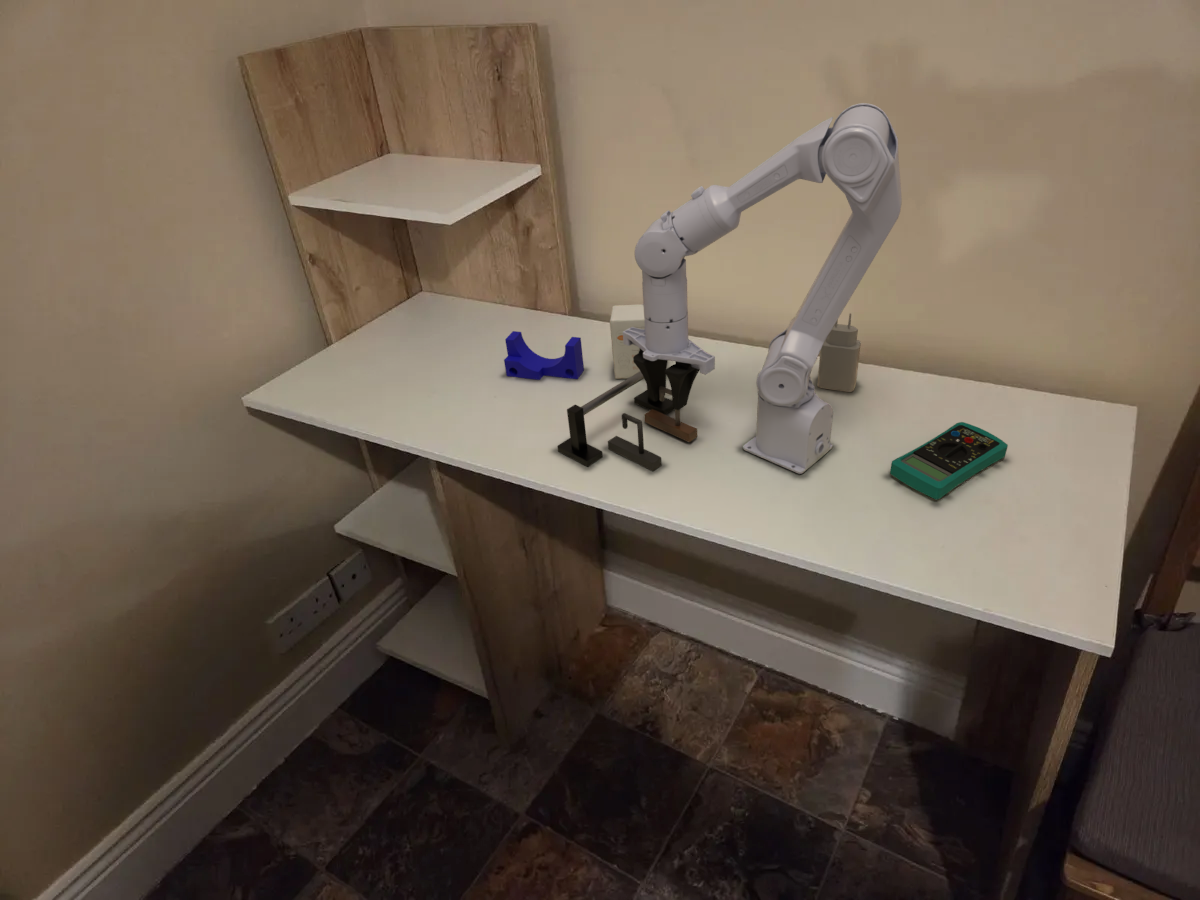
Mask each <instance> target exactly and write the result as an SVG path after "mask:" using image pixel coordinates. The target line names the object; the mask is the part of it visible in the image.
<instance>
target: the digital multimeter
mask: <svg viewBox="0 0 1200 900" xmlns="http://www.w3.org/2000/svg"><path fill="white" fill-rule="evenodd" d="M1008 447H1009V445H1008V443H1006V442H1005V441H1004V440H1003V439H1001V438H999V437H998V436H997V435H994V434H993V433H991V432H989V431H987V430H985V429H983V428H980V427H978V426H975V425H973V424H970V423H967V422H963V421H959V422H956V423H955V424H953V425H952V426H950V427H949V428H947V429H946V430H944V431H943V432H941V433H940V434H938V435H936V436H935V437H933V438H931V439H930V440H928V441H926V442H925V443H923V444H921V445H919V446H918V447H915V448H914V449H912V450H910V451H909V452H907V453H905V454H903V455H901V456H899V457H897V458H894V459H893V460H891V462H890V463H891V464H890V470H889V474H890V475H891V476H893V477H894V478H896V479H897V480H898V481H900V482H902V483H904V484H905V485H906V486H908V487H910V488H912V489H914V490H915V491H918V492H919V493H921V494H923V495H925V496H928V498H932V499H934V500H940V499H942V498H943V497H944V496H946V495H947V494H948V493H949V492H951V491H952V490H954V489H955V488H956V487H958V486H959V485H960V484H962V483H964V482H966V481H967V480H969V479H970V478H972V477H973V476H974V475H976V474H978V473H979V472H981V471H982V470H984V469H986V468H988V467H989V466H991V465H993V464H994V463H996V462H998V461H1000V460H1003V458H1004V459H1005V457H1006V454H1007V450H1008Z"/></svg>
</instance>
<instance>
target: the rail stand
mask: <svg viewBox="0 0 1200 900" xmlns="http://www.w3.org/2000/svg"><path fill="white" fill-rule="evenodd" d="M642 380H645V379H644V377H643V375H642V373H641V371H639V372H638V373H636V374H634V375H633V376H631V377H630V378H627V379H624V380H622V381H621V382H620V383H618V384H615V386H612V387H611V388H609V389H608V390H606V391H605V392H603V393H601V394H599V395H598V396H597V397H595V398H593V399H591V400H590V401H588V402H587V403H585V404H583V405H582V406H579V405H577V404H573V405H572V406H570V407H567V409H566V414H567V422H568V430H569V438H567V439H565V440H564V441H562V442H561V443H559V444H558V445H557V452H558V453H560V454H562V455H564V456H566V457H568V458H570V459H572V460H573V461H576V462H577V463H579V464H581V465H583V466H585V467H587V468H588V467H590V466H592V465H593V464H594V463H597V461H599V460H601V459H602V458H603V456H604V455H603V451H602V450H600V449H598V448H596V447H595V446H593V445H591V444H589V443H588V440H587V431H586V422H585V416H586V415H587V414H589V413H591V412H592V411H593V410H595V409H596V408H598V407H600V406H601V405H603V404H604V403H606V402H608V401H610V400H611V399H613V398H614V397H616V396H617V395H620V394H621V393H623V392H625V391H626V390H628V389H629V388H631V387H633V386H634V385H636V384H637V383H639V382H640V381H642ZM633 403H634V404H635V405H637V406H639V407H641V408H645V409H647V410H648V411H650V410H652V409H653V410H656V411H658V412H660V413H663V414H665V415H668V414H669V413H671V412H672V411H673V410H674V411H675V409H674V407H673V402H672V399H670V398H667V397H665V396H664V401H660V399H658V400H657V401H654V400H652V397H651V394H650V391H649V389H648V386H647V385H646V390H644V391H642V392H641V393H640V394H638V395H636V396H634V398H633Z"/></svg>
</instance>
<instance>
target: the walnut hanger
mask: <svg viewBox="0 0 1200 900" xmlns="http://www.w3.org/2000/svg"><path fill="white" fill-rule="evenodd" d="M664 393H665V394H667V395H669V396H671V397H672V391H671V388H668V387H666V388H665V387H663V386H660V387H659V399H660V401H664V397H665V395H664ZM643 418H644V423H645V424H648V425H650V426H652V427H654V428H656V429H658V430H661V431H663V432H665V433H668V434H670V435H672V436H674V437H677V438H679V439H680V440H683V441H686V442H688V443H691V442H692V441H694V440H695V439H696V438H698V428H697V427H695V426H692V425H690V424H688V423H686V422H683V421H681V409H680V410H675V409H674V417H671V416H669V415H668V414H666V415H665V414H663V413H660V412H658V411H656V410H653V409H652V410H648V411H647V412H645V413H644V414H643Z"/></svg>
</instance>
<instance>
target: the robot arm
mask: <svg viewBox="0 0 1200 900" xmlns="http://www.w3.org/2000/svg"><path fill="white" fill-rule="evenodd" d="M833 119H834V116H831V117H829V118H827V119H825V120H823V121H822V122H819V123H818V124H817V125H815V126H813V127H812V128H810V129H809V130H807V131H805V132H803V133H802V134H801V135H799V136H797V137H796V138H795V139H793V140H792V141H791V142H789V143H788V144H786V145H785V146H784V147H782V148H780V150H778V151H777V152H775V153H774V154H773V155H771V156H770V157H768V158H767V159H766V160H764V161H763V162H761V163H760V164H759V165H757V166H756V167H755V168H753V169H752V170H750V171H749V172H748V173H746V174H745V175H743V176H742V177H741V178H739V179H738V180H737V181H735V182H734V183H732V184H731V185H730V186H724V185H719V184H711V185H710V186H708V187H706V188H704V186H702V185H700V186H699V187H697V188H696V189H694V190H693V191H692V193H691V194H690V196H691V199H690V200H688V201H686V202H685V203H683V204H681V205H680V206H679V207H677V208H676V209H674V210H673V211H672V212H671V210H669V209H667V210H666V211H665V212H663V213H662V214H661V215H660V218H658V219H656V220H654V221H653V222H652V223H651V224H650V225H649V226H648V227H647V229H646V230H645V231H644V232H643V234H642V235H641V237H640V238H639V239H638V240H637V243H636V245H635V247H634V260H635V262H636V265H637V266H638V268H639V269H640V270H641V276H642V277H641V278H642V279H641V280H642V281H641V285H642V287H641V290H642V304H643V307H644V323H645V330H644V329H638V328H635V327H631V328H629V329H627V330H625V331H623V343H624V344H625V345H628V346H630V345H632V344H633V345H635V346H638V347H639V348H640V351H639V353H638V354H637V355H635V356H634V357H633V361H634V363H635V364H636V366H637V367H638V368H639V370H640V371H641V373H642V375H643V377H644V379H643V380H644V381H645V383H646V387H647V386H648V389H649V391H650V394H651V397H652V400H654V401H657V400H658V399H659V387H660V386H663V387H665V388H667V379H668V381H669V385H670V390H671V391H672V396H671V398H672V399H671V400H672V402H673V407H674V411H675V410H680V411H681V410H682V409H683V408H684V407H686V406H687V405H688V402H689V397H690V393H691V389H692V387H693V384H694V382H695V380H696V378H697V375H698V374H701V375H704V376H707V375H708V374H710V373H711V372H712V371H714V370H715V369H716V357H715V355H713V354H711V353H708V352H706V351H705V350H704V349H702V348H701V347H700V346H699V345H697V344H696V343H695V342H693V341H692V340H691V339H690V338H689V308H688V305H689V303H688V278H687V259H686V258H685V257H689V256H694V255H696V254H698V253H699V252H701V251H702V250H704V249H706V248H707V247H708V246H710V245H712V244H714V243H715V242H717V241H718V240H720V239H721V238H723V237H725V236H727V234H730V233H731V232H732V231H734V230H736V229H737V228H738V227H739V225H740V221H741V215H742V212H744V211H746V210H748V209H750V208H751V207H754V206H755V205H757V204H759V202H762V201H764V200H765V199H767V198H769V197H770V196H772V195H773V194H775V193H777V192H778V191H780V190H782V189H784V188H786V187H787V186H790V185H791V184H792V183H794V182H796V181H798V180H803V181H808V182H812V183H817V184H823V183H824V180H825V179H826V178H825V177H826V175H827V177H828V178H829V179H830V181H831V182H832V183H833V184H834V185H835V186H836V187H837V188H838V189H839V190H840V191H841V192H842V193H843V195H845V198H846V200H847V203H848V206H849V207H850V209H851V214H850V215H849V217H848V219H847V221H846V223H845V224H844V227H843V228H842V230H841V232H840V234H839V236H838V238H837V239H836V241H835V242H834V245H833V246H832V249H831V250H830V252H829V253H828V256H827V258H826V259H825V260H824V262H823V264H822V266H821V268H820V270H819V272H818V274H817V276H816V278H815V279H814V281H813V283H812V285H811V287H810V288H809V289H808V292H807V293H806V295H805V297H804V299H803V301H802V303H801V305H800V306H799V308H798V310H797V312H796V313H795V315H794V316H793V318H791V320H790V321H789V323H788V325H787V326H786V328H785V329H783V331H781V332H780V333H778V334H776V335H775V336H774V337H773V338H772V339H771V341H770V343H769V344H768V350H767V354H766V357H765V359H764V362H763V365H762V367H761V369H760V371H759V372H758V374H757V378H756V388H757V405H756V433H755V435H754V437H752V438H751V439H750V440H748V441H747V442H746V443H744V444H743V445H742V450H744V451H745V452H747V453H749V454H752V455H755V456H757V457H758V458H761V459H764V460H766V461H768V462H770V463H773V464H775V465H778V466H780V467H783V468H784V469H787V470H789V471H791V472H794V473H796V474H799V475H802V474H804V473H805V472H806V471H807V470H808V469H810V468H811V467H812V466H813V465H814V464H816V463H817V462H818V461H819V460H820V459H822V458H823V457H824V456H825V455H826V454H827V453H828V452H829V451H831V450H832V449H833V443H831V438H832V429H833V419H834V409H833V406H832V404H830V403H828V402H826V401H825V400H824V399H822V398H820V396H818V395H817V393H816V391H815V390H816V388H815V385H814V383H813V381H812V379H811V374H812V370H813V368H814V366H815V364H816V361H817V359H818V357H819V356H820V350H821V348H822V346H823V343H824V342H825V340H826V338H827V336H828V335H829V333H830V331H831V330H832V328H833V326H834V325H835V323H836V321H837V320H838V321H839V318H840V317H841V315H842V313H843V311H844V310H845V308H846V307H847V305H848V303H849V301H850V300H851V298H852V296H853V295H854V293H855V291H856V289H857V288H858V287H859V285H860V283H861V281H862V279H863V277H864V276H865V275H866V273H867V271H868V269H869V268H870V266H871V264H872V263H873V261H874V259H875V258H876V256H877V254H878V253H879V251H880V249H881V248H882V246H883V244H884V243H885V241H886V239H887V238H888V236H889V234H890V232H891V231H892V229H893V228H894V226H895V224H896V222H897V221H898V219H899V217H900V214H901V208H902V202H903V198H902V185H901V184H902V183H901V171H900V157H899V138H898V136H897V133H896V130H895V129H894V126H893V125H892V122H891V121H890V118H889V117H888V114H887V113H886V112H885V111H884V110H883V109H882V108H880V107H879V106H877V105H875V104H872V103H868V102H867V103H866V102H861V103H856V104H852V105H850V106H848V107H846V108H845V109H843V111H842V112H840V113H839V114H838V115H837V116H836V119H835V120H834V122H833V124H832V126H831V127H830V125H831V123H832V121H833ZM668 361H669V362H675V363H673V364H672V365H670V366H669V367H667V366H668ZM664 396H666V393H664Z"/></svg>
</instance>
